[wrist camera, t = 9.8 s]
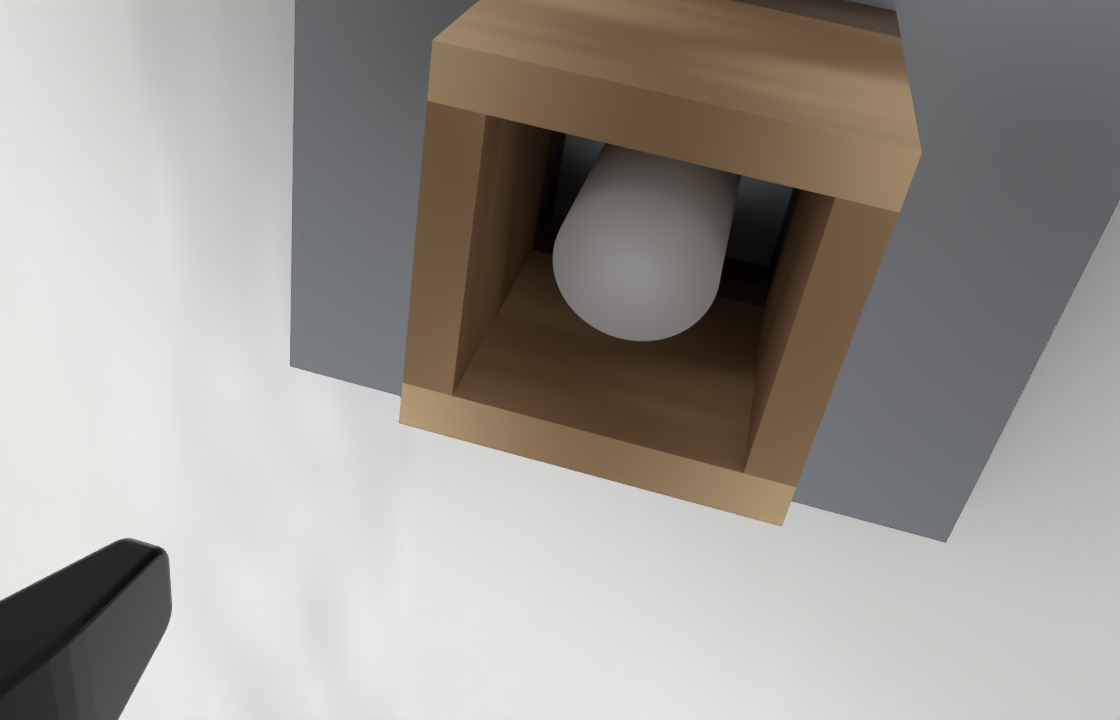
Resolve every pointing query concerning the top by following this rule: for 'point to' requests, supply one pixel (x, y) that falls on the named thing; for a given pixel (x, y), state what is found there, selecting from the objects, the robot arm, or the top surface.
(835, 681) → the top surface
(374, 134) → the pin board
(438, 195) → the oak sleeve
